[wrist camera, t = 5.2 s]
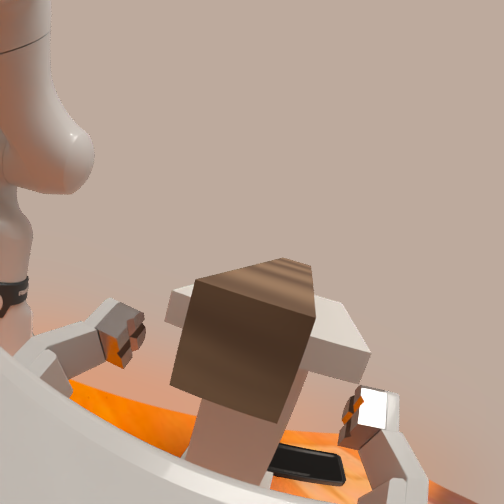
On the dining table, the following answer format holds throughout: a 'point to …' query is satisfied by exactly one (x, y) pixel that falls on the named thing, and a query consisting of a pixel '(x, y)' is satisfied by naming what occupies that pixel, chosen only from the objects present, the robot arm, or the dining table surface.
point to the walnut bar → (247, 336)
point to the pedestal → (269, 434)
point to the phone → (307, 465)
